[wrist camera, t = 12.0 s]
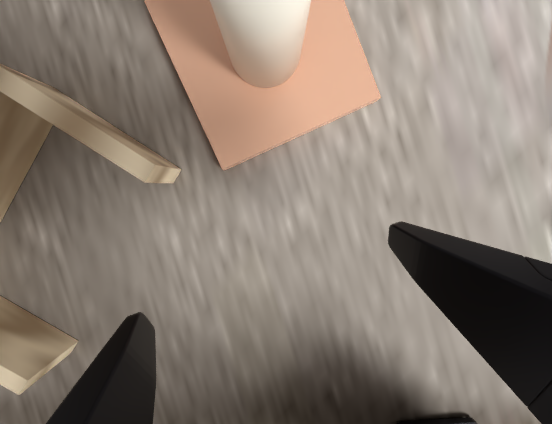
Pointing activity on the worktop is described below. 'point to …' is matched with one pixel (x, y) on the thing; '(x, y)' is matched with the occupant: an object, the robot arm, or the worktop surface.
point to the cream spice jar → (263, 37)
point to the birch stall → (9, 176)
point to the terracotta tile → (265, 101)
